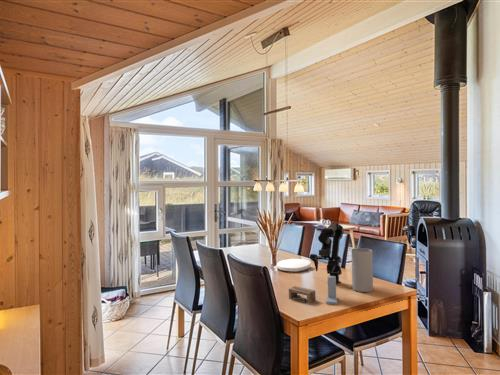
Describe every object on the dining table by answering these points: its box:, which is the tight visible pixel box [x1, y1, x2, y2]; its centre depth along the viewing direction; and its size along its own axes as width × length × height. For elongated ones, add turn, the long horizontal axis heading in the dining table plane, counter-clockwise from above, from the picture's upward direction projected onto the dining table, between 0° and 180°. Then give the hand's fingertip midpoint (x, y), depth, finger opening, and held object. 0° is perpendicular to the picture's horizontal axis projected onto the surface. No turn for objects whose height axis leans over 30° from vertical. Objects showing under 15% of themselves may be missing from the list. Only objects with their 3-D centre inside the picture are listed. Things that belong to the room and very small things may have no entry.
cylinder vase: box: [350, 247, 374, 293], centre depth 213 cm, size 12×12×25 cm
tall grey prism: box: [325, 275, 338, 306], centre depth 194 cm, size 11×6×13 cm, turn 164°
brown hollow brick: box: [288, 285, 317, 304], centre depth 198 cm, size 7×14×6 cm, turn 49°
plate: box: [276, 258, 312, 273], centre depth 270 cm, size 28×6×27 cm
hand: (323, 272), depth 206 cm, fingers open, 9 cm apart
